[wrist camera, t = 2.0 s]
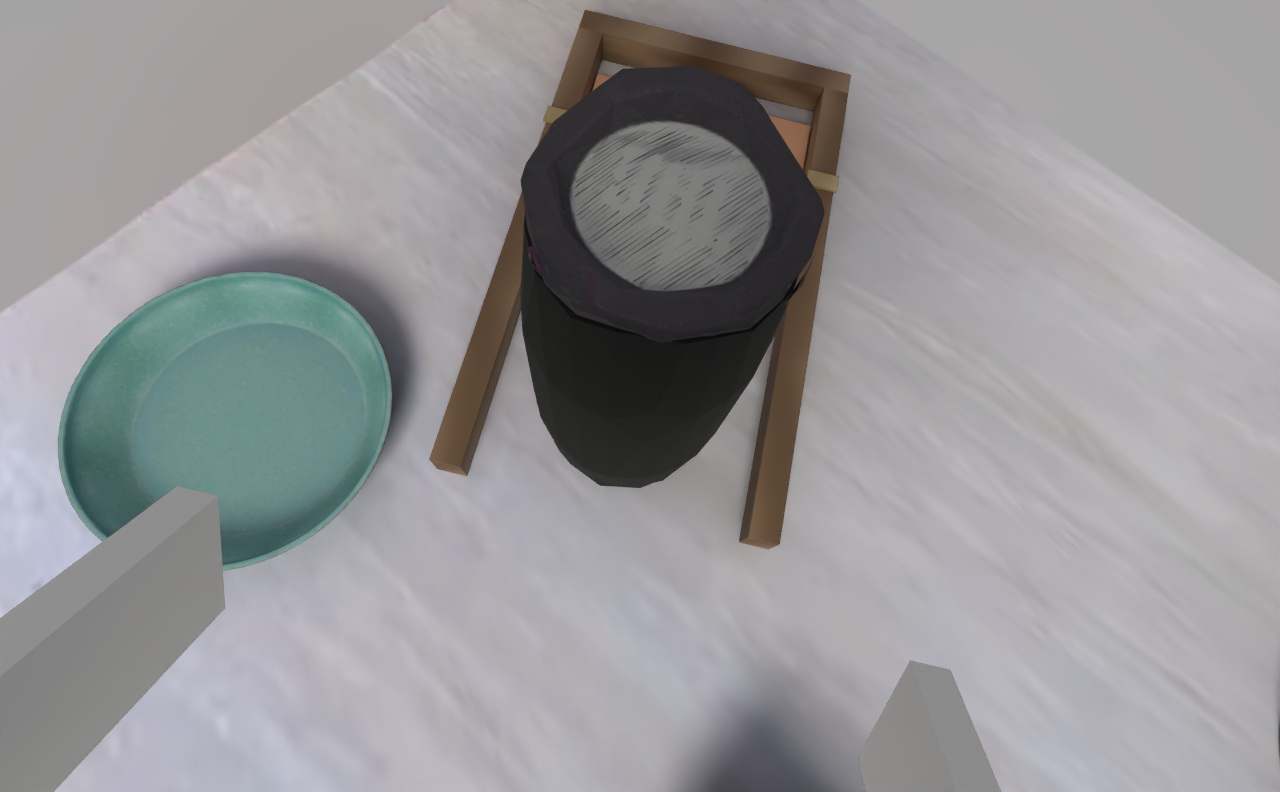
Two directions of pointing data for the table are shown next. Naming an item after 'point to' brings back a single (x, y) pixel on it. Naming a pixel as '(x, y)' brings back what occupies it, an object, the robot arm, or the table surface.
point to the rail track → (794, 331)
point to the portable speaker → (656, 265)
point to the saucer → (230, 411)
